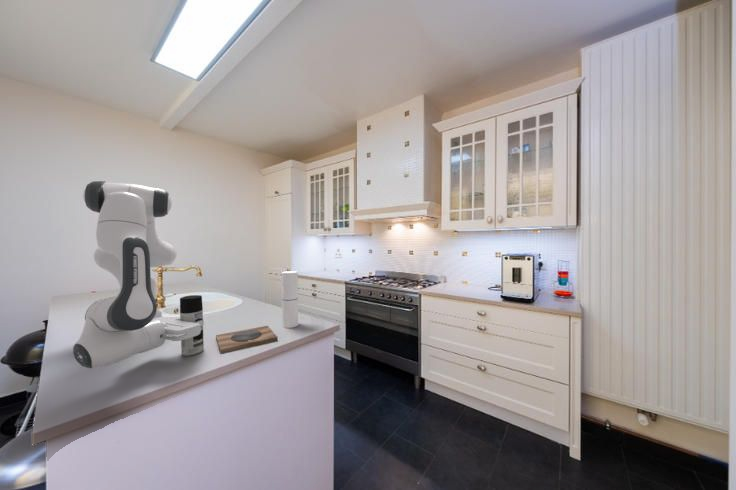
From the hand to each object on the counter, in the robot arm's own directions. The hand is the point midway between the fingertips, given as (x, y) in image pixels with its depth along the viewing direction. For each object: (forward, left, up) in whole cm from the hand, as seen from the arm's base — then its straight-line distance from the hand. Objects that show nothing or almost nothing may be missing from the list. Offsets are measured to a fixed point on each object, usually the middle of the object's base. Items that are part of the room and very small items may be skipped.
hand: (194, 320), depth 93 cm
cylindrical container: (-7, +37, -11) cm, 40 cm away
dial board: (0, +17, -11) cm, 20 cm away
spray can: (+1, -1, -11) cm, 11 cm away
